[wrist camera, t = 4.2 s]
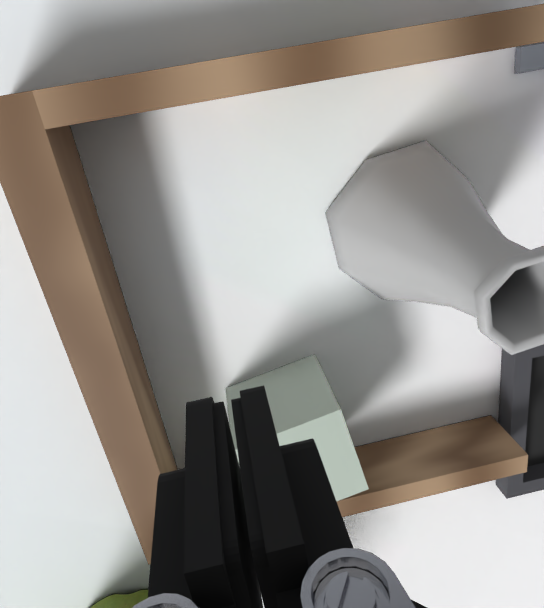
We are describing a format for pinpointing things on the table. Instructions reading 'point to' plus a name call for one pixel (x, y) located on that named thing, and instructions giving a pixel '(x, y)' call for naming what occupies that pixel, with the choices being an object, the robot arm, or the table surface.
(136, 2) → the table surface
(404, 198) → the flask
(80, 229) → the wooden u-shaped frame
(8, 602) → the table surface
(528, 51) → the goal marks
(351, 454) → the grey green block
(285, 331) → the table surface
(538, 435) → the frame
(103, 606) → the plant pot
